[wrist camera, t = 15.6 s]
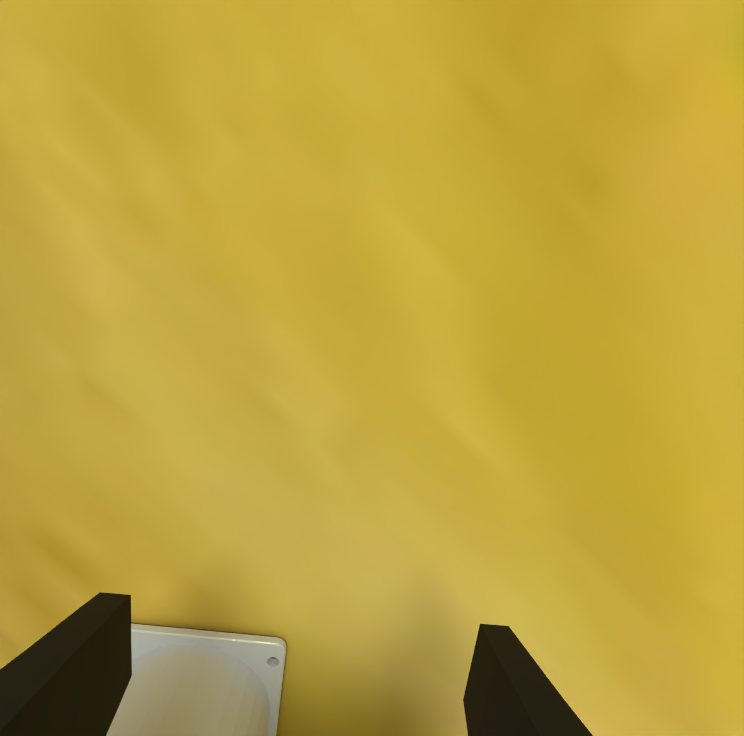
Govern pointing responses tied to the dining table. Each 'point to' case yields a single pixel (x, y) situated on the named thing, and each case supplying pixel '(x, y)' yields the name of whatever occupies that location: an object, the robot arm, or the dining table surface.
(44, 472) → the dining table surface
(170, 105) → the dining table surface
